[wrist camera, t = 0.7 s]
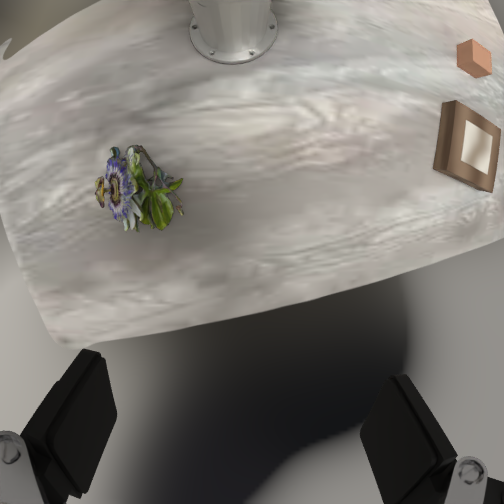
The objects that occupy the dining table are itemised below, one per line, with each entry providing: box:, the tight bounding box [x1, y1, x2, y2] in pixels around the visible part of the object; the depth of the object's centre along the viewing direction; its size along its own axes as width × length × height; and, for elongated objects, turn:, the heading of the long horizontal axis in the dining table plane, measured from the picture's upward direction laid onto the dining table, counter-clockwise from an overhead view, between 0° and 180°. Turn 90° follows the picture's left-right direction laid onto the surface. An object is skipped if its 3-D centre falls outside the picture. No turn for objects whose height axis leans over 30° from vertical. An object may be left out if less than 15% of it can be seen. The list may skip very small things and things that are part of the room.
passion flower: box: [95, 145, 184, 232], centre depth 37 cm, size 11×11×12 cm
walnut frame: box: [433, 100, 501, 193], centre depth 37 cm, size 12×12×4 cm
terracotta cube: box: [457, 39, 492, 78], centre depth 32 cm, size 5×5×5 cm
